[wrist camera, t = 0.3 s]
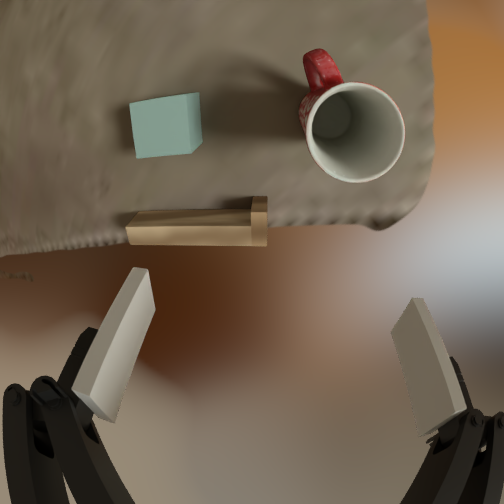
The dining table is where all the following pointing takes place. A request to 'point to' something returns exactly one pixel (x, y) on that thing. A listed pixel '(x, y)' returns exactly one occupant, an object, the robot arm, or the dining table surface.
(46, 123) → the dining table surface
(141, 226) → the stop board
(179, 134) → the block
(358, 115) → the mug
